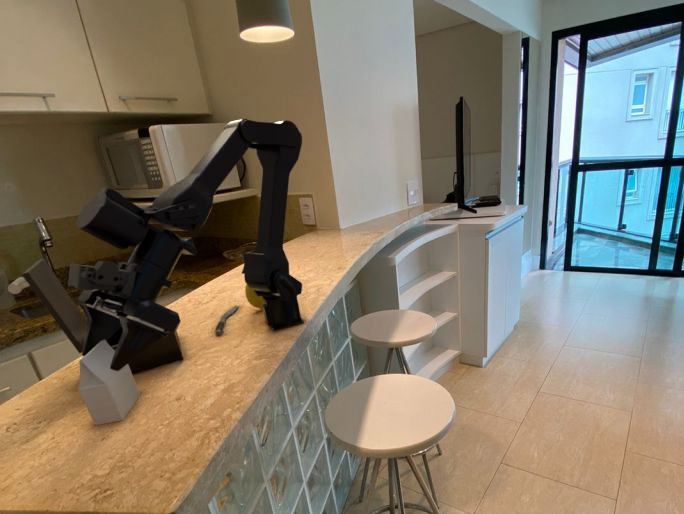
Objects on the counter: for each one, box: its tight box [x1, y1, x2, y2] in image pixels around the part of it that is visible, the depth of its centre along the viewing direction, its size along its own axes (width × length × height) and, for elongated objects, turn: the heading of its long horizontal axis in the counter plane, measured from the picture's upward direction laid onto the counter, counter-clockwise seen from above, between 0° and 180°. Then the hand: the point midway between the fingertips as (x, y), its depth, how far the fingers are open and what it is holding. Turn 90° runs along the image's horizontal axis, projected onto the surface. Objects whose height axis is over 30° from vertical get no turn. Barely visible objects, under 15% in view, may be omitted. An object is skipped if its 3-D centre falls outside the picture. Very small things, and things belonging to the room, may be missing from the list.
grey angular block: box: [77, 340, 141, 426], centre depth 59 cm, size 4×7×10 cm, turn 10°
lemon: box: [244, 283, 264, 311], centre depth 93 cm, size 6×6×8 cm
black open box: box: [107, 326, 184, 376], centre depth 75 cm, size 14×12×6 cm
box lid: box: [7, 258, 88, 354], centre depth 67 cm, size 14×12×4 cm
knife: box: [215, 305, 239, 335], centre depth 90 cm, size 17×1×3 cm
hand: (99, 363), depth 58 cm, fingers open, 9 cm apart
